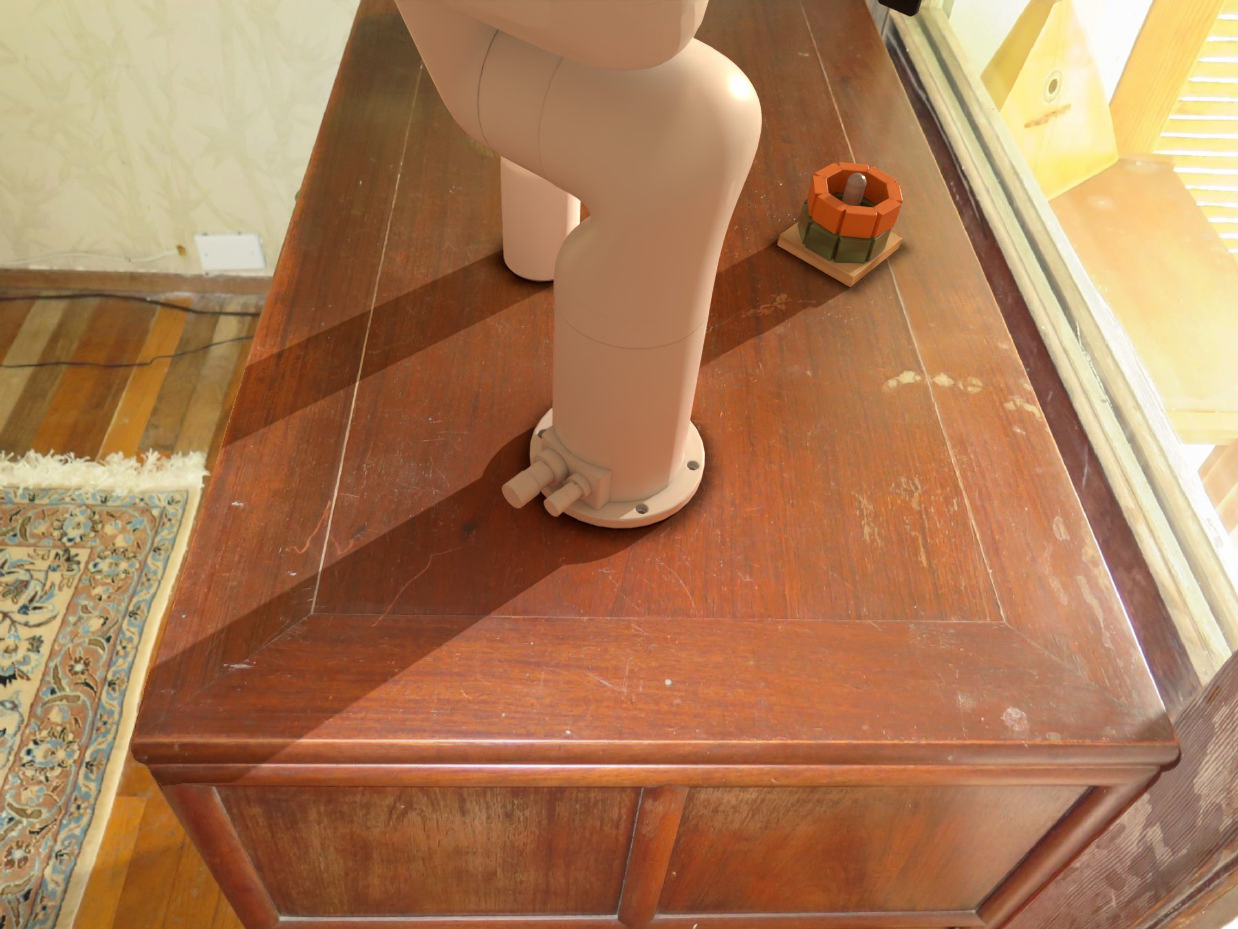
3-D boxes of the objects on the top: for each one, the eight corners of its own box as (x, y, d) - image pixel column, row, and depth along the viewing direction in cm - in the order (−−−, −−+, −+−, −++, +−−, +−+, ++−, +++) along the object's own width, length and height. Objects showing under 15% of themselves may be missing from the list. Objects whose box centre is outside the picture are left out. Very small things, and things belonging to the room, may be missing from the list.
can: (568, 290, 84) (572, 166, 74) (494, 276, 84) (489, 152, 75) (585, 243, 88) (591, 121, 78) (514, 231, 88) (512, 108, 79)
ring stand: (850, 287, 86) (872, 215, 80) (776, 245, 89) (793, 172, 83) (899, 248, 90) (923, 176, 84) (827, 209, 93) (846, 137, 87)
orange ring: (856, 249, 84) (863, 225, 82) (790, 205, 87) (795, 182, 85) (911, 216, 87) (919, 193, 85) (845, 175, 91) (851, 152, 89)
